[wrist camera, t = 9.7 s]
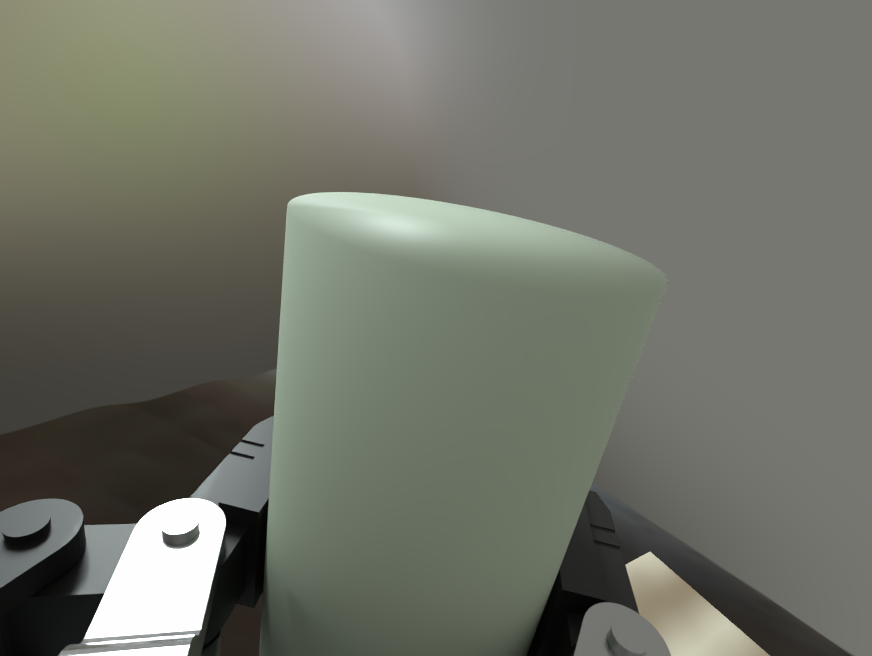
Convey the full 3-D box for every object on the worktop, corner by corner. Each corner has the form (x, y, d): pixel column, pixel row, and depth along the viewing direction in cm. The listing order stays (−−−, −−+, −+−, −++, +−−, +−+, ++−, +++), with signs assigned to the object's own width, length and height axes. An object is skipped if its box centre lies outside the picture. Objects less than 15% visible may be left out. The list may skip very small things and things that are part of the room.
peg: (228, 761, 13) (245, 179, 7) (394, 674, 15) (501, 206, 10) (280, 1053, 9) (405, 303, 3) (488, 869, 12) (746, 291, 6)
